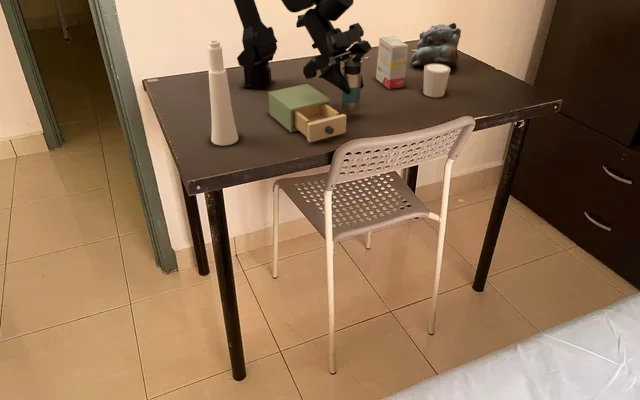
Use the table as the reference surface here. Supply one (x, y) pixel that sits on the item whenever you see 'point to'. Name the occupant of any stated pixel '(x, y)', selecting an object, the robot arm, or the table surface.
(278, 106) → the drawer unit
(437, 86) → the white cylinder
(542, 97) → the table surface
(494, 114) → the table surface
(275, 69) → the table surface
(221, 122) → the cosmetic bottle
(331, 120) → the drawer
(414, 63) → the lucky cat figurine
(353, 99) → the thermos flask
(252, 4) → the robot arm
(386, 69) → the ink box
